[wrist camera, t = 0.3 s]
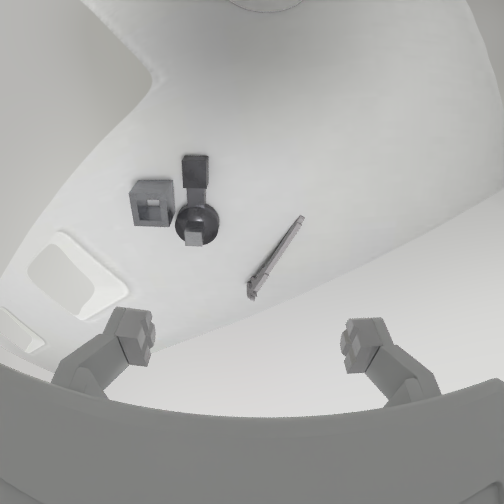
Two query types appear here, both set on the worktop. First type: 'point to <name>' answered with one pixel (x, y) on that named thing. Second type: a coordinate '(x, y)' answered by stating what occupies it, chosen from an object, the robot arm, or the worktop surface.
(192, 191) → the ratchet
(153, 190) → the grey metal block
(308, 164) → the worktop surface
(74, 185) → the worktop surface
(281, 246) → the caliper
